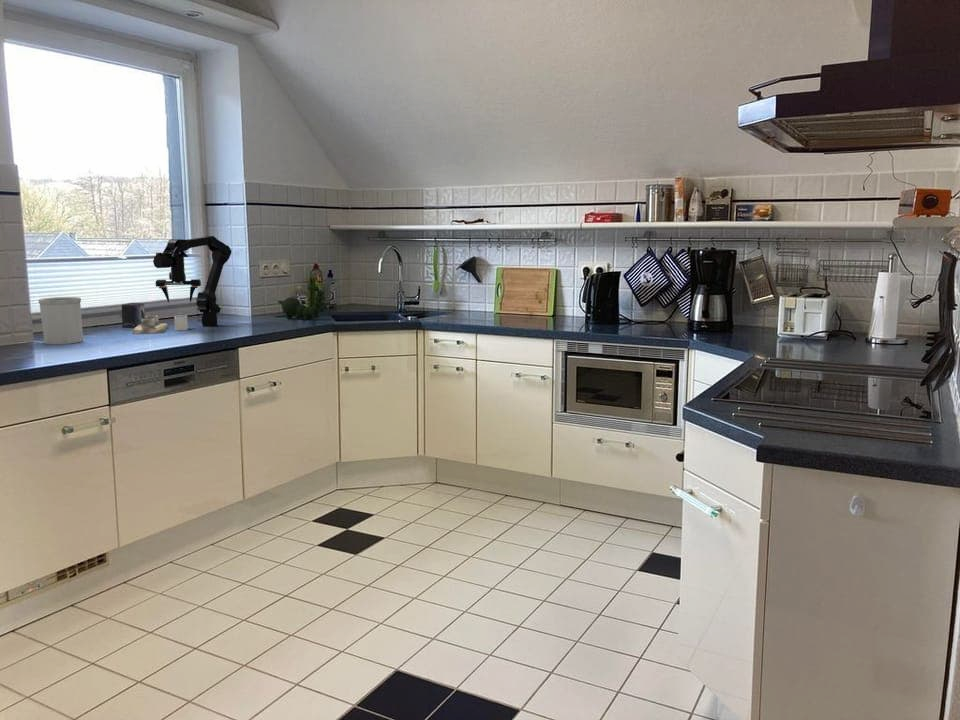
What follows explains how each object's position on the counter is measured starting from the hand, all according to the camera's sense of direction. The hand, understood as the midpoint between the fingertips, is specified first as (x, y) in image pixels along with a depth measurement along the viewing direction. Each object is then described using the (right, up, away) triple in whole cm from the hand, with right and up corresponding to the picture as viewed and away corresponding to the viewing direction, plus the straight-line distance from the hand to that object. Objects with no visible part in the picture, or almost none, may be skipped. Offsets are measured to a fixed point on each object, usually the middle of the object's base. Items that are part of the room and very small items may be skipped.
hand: (179, 302), depth 347 cm
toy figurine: (+45, -6, +45) cm, 64 cm away
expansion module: (0, -12, +2) cm, 13 cm away
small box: (-26, -11, +12) cm, 30 cm away
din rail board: (-12, -13, -2) cm, 18 cm away
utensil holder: (-31, -19, -39) cm, 54 cm away
